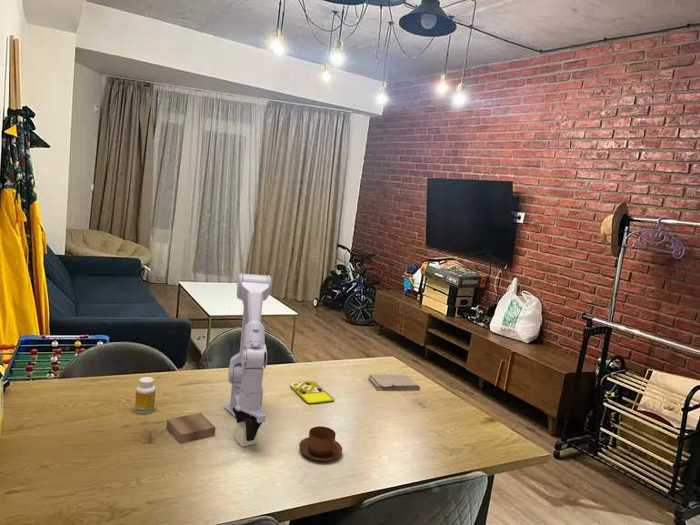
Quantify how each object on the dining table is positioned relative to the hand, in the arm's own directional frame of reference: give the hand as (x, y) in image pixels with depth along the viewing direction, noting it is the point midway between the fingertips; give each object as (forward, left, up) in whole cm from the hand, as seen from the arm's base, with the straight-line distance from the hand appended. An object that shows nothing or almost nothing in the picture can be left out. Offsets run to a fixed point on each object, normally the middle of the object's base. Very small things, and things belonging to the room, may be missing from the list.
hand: (246, 436), depth 144 cm
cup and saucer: (-16, +14, -2) cm, 21 cm away
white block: (0, 0, -2) cm, 2 cm away
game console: (-37, -21, -3) cm, 43 cm away
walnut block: (+11, -12, -2) cm, 16 cm away
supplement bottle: (+18, -30, -2) cm, 35 cm away
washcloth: (-72, -15, -3) cm, 73 cm away
